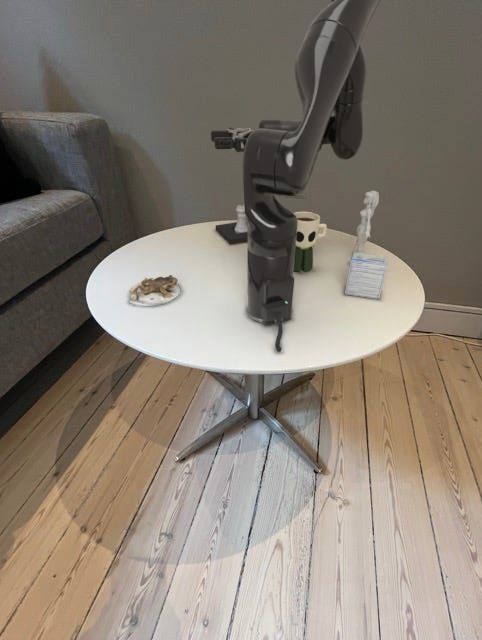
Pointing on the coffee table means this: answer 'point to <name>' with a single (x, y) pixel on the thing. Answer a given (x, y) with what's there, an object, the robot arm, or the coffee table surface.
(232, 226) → the socket pad
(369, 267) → the medicine box
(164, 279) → the frog figurine
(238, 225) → the rook chess piece
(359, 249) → the human figurine
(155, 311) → the coffee table surface
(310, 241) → the character mug
